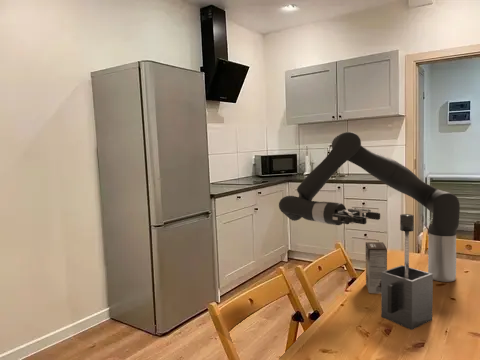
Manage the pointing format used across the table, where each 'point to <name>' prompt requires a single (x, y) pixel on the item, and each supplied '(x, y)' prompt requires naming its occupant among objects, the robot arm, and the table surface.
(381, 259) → the coffee box
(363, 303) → the table surface
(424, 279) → the box
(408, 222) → the plunger
